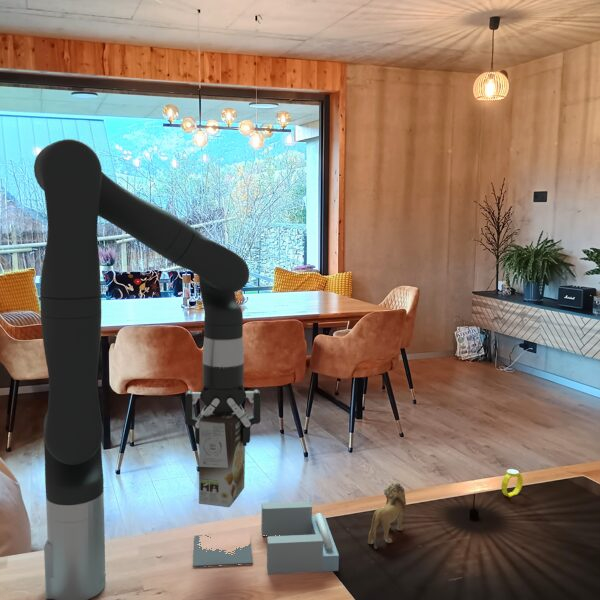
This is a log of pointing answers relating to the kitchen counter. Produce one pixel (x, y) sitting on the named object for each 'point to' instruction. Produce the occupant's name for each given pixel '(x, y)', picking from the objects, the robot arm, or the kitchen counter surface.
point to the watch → (506, 479)
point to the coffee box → (221, 459)
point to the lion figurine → (389, 512)
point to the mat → (220, 556)
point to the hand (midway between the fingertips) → (222, 445)
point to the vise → (297, 539)
